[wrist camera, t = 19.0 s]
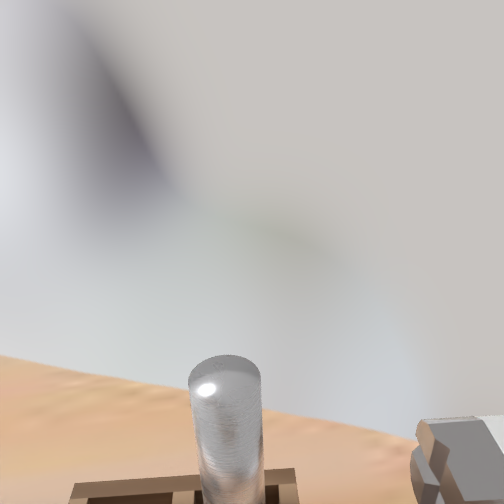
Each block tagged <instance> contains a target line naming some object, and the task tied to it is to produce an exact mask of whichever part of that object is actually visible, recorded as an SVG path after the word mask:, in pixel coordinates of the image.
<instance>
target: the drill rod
mask: <svg viewBox="0 0 504 504" xmlns="http://www.w3.org/2000/svg"><path fill="white" fill-rule="evenodd" d="M188 386H189V394H190V402H191V409H192V417H193V425H194V432H195V440H196V448H197V456H198V463H199V471H200V479H201V486H202V494H203V502H204V504H265V479H264V454H263V429H262V406H261V405H262V404H261V379H260V372H259V370H258V368H257V367H256V366H255V364H254V363H252V362H251V361H249V360H248V359H246V358H243V357H239V356H235V355H221V356H215V357H212V358H209V359H207V360H205V361H203V362H201V363H200V364H198V365H197V366H196V367H195V368H194V369H193V370H192V372H191V374H190V376H189V379H188Z"/></svg>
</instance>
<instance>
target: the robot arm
mask: <svg viewBox="0 0 504 504" xmlns="http://www.w3.org/2000/svg"><path fill="white" fill-rule="evenodd" d="M416 437H417V439H418V442H419V444H420V445H419V446H418V447H417V448H416V449H415V450H413V451H412V455H411V462H410V471H411V481H412V486H413V490H414V493H415V496H416V499H417V502H418V504H504V415H497V416H478V417H474V416H471V417H456V418H440V419H424V420H421V421H420V422H419V423H418V425H417V430H416Z"/></svg>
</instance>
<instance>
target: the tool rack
mask: <svg viewBox="0 0 504 504" xmlns="http://www.w3.org/2000/svg"><path fill="white" fill-rule="evenodd" d="M264 479H265V504H299V497H298V490H297V483H296V477H295V470H294V468H287V469H273V470H264ZM68 504H204V502H203V494H202V486H201V479H200V475H186V476H172V477H158V478H143V479H129V480H115V481H100V482H86V483H75V484H74V488H73V491H72V494H71V497H70V500H69V503H68Z"/></svg>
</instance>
